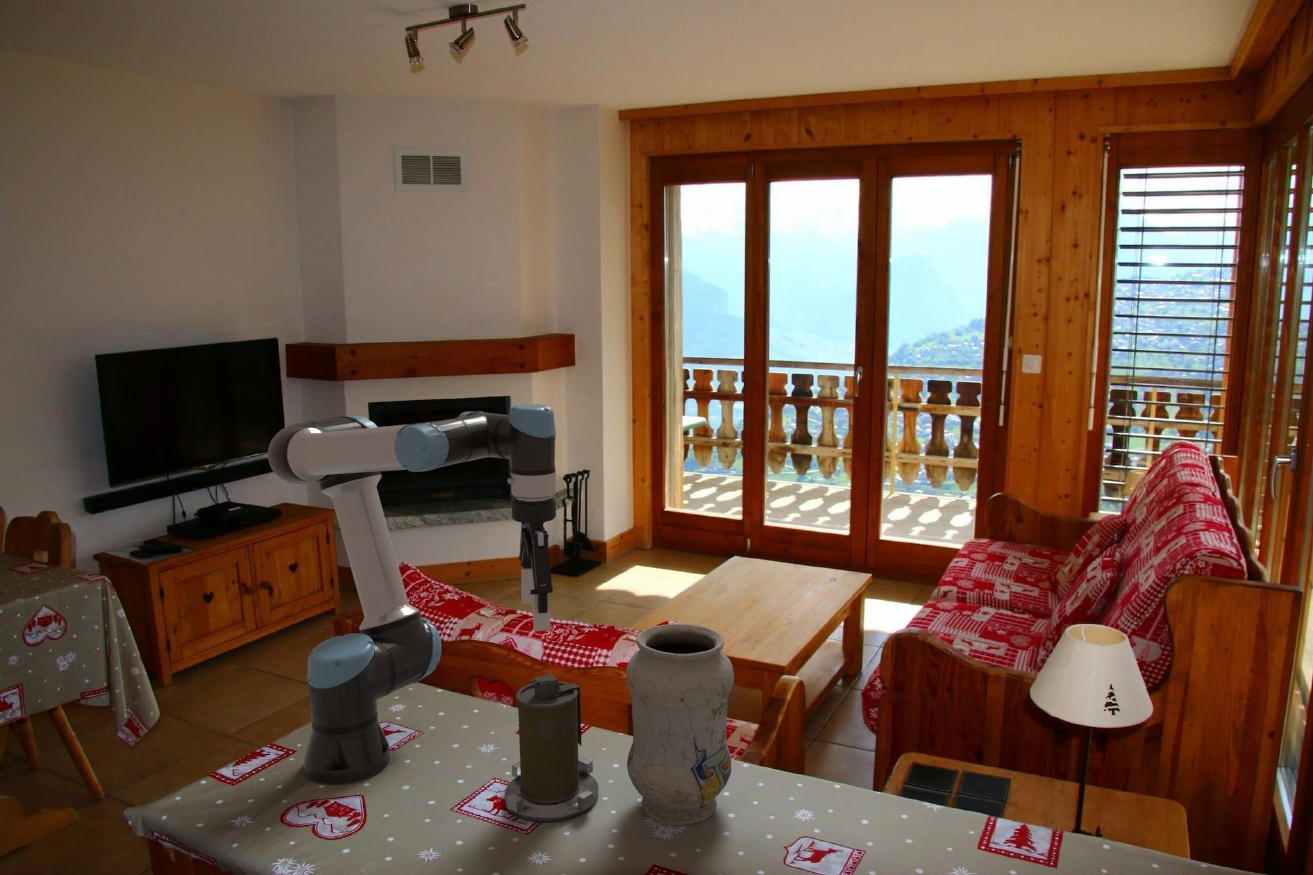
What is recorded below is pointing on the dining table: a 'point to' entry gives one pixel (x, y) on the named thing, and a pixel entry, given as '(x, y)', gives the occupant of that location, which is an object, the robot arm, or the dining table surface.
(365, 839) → the dining table surface
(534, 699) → the canister
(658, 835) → the dining table surface
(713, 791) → the vase
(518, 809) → the flange
